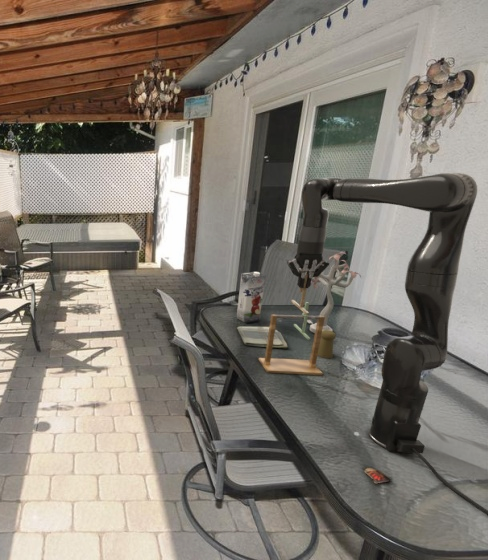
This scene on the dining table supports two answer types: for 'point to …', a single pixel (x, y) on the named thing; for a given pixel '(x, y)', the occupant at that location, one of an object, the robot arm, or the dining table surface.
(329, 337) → the cork
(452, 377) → the dining table surface
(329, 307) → the decorative tree
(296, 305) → the hanger
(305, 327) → the hanger
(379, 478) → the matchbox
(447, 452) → the dining table surface
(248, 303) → the juice carton
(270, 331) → the rack
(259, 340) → the pale green square plate
